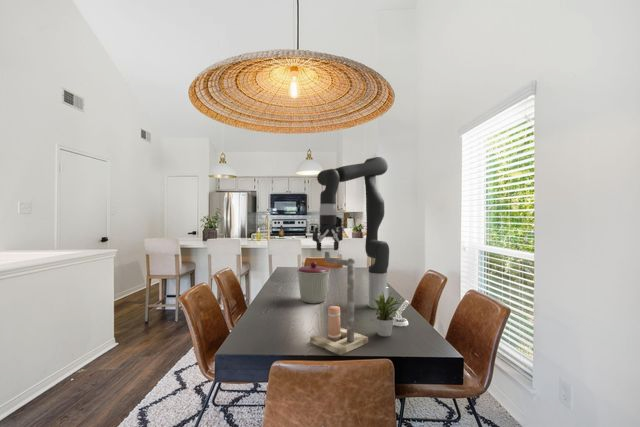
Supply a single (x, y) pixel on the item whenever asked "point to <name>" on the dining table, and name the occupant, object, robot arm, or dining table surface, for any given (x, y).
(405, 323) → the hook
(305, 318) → the dining table surface
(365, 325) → the dining table surface
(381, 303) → the house plant
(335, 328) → the orange cylindrical bottle
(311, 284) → the canister
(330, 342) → the wooden gallows stand
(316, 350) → the dining table surface
